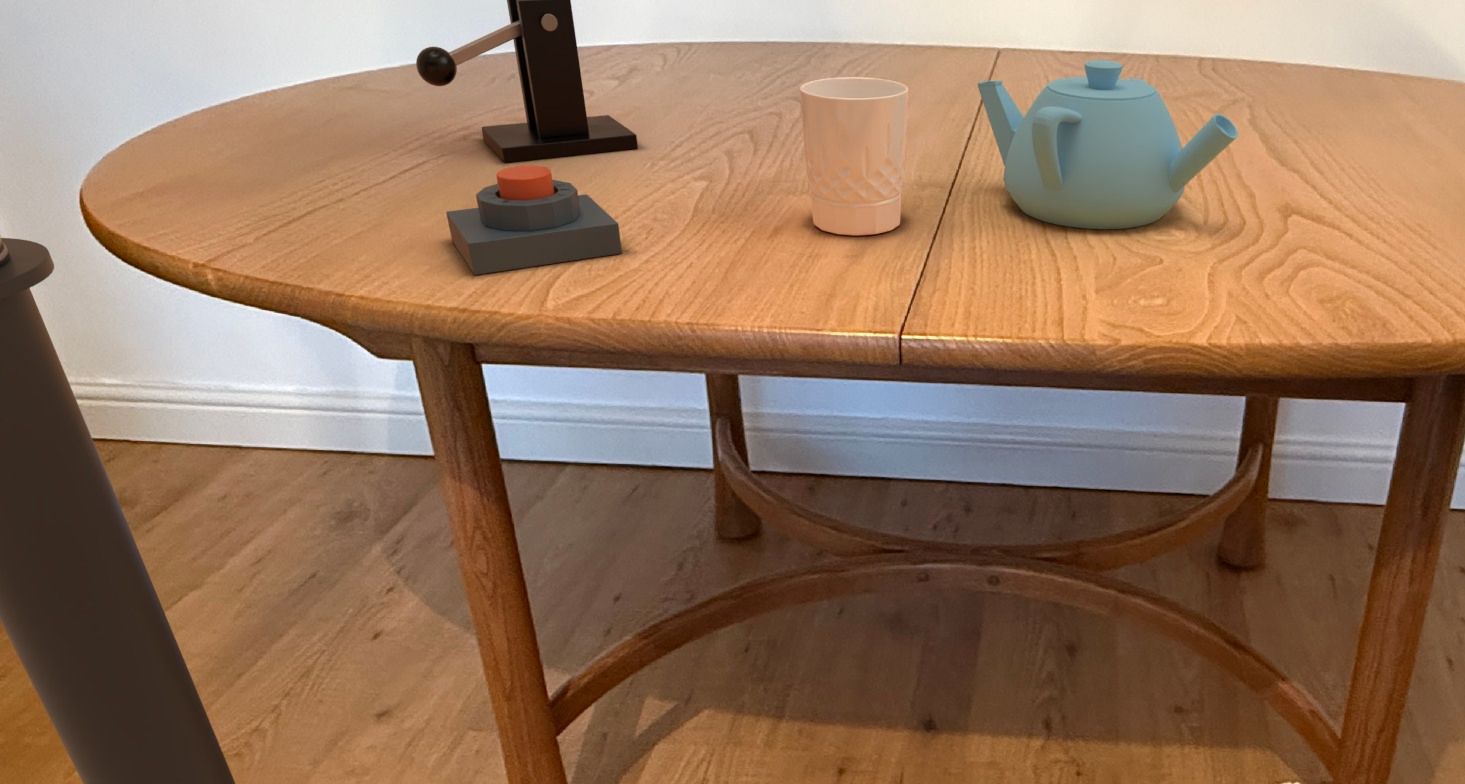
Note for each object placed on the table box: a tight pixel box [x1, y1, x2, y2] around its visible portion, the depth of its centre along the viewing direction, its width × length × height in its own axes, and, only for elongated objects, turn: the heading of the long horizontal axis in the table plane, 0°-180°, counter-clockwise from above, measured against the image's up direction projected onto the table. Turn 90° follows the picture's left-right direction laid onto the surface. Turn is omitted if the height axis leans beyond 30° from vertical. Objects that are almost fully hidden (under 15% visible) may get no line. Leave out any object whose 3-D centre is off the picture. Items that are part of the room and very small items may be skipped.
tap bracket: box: [481, 0, 639, 164], centre depth 103 cm, size 12×9×13 cm
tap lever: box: [415, 9, 522, 87], centre depth 100 cm, size 13×3×3 cm, turn 120°
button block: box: [446, 179, 623, 276], centre depth 80 cm, size 10×8×4 cm
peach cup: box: [799, 76, 909, 236], centre depth 85 cm, size 8×8×10 cm
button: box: [495, 165, 555, 200], centre depth 79 cm, size 4×4×2 cm
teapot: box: [977, 59, 1239, 230], centre depth 90 cm, size 15×17×11 cm
